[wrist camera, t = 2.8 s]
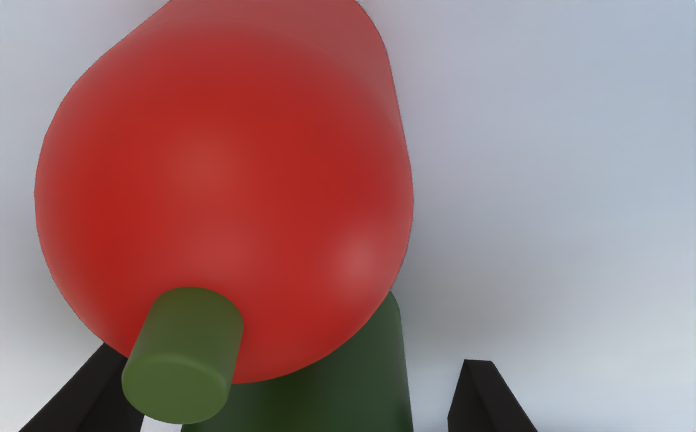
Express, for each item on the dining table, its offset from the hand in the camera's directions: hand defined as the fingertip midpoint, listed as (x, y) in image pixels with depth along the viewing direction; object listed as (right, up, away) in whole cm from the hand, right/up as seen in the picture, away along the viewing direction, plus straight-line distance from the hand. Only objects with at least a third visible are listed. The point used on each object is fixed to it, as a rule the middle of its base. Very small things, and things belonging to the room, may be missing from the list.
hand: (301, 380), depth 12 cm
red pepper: (0, +6, -2) cm, 6 cm away
